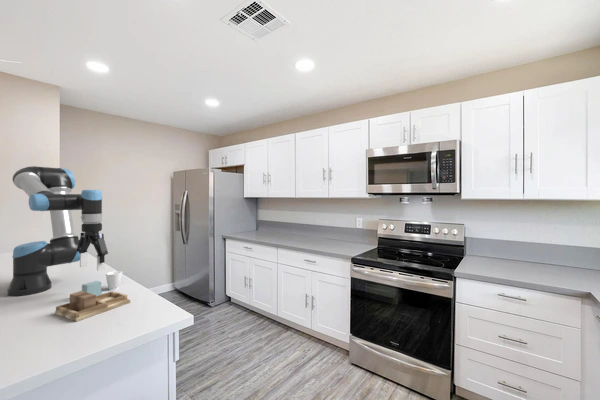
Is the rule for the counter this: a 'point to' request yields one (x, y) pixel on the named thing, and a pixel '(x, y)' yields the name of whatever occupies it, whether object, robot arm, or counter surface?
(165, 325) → the counter surface
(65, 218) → the robot arm
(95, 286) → the pale teal block
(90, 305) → the brown wooden block
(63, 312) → the tray
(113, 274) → the cup
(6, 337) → the counter surface
